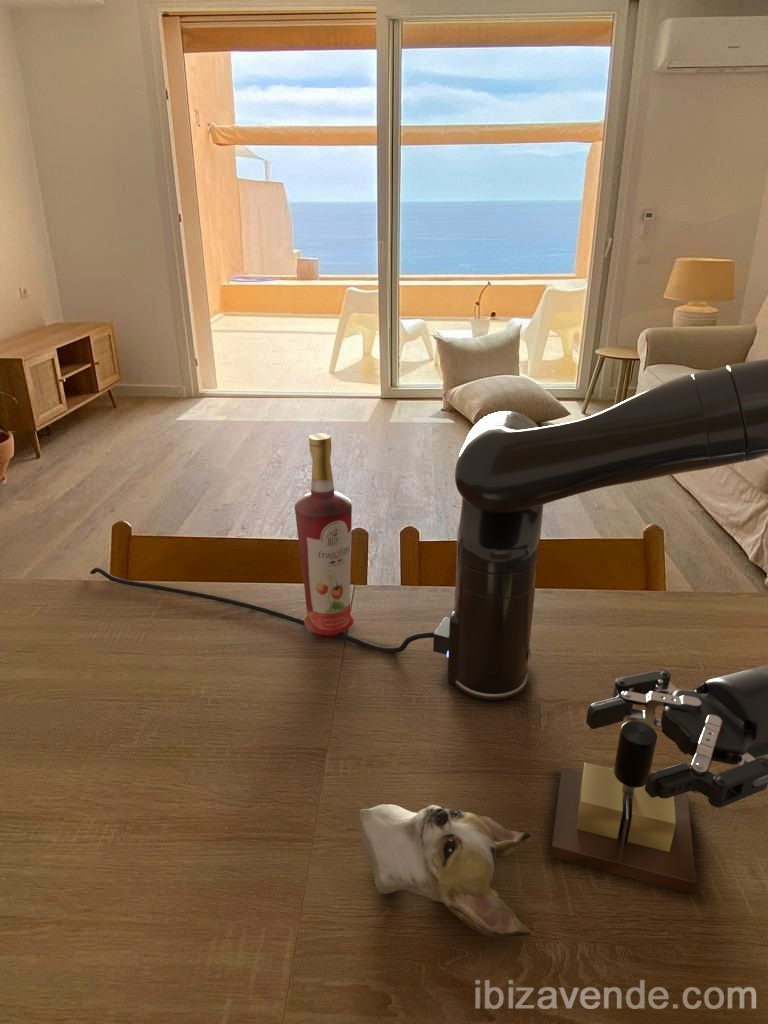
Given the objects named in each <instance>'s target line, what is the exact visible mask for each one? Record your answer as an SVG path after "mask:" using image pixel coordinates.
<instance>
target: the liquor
mask: <svg viewBox="0 0 768 1024" xmlns="http://www.w3.org/2000/svg"><path fill="white" fill-rule="evenodd" d="M308 444H309V453H310V456H311V460H312V461H311V463H312V464H311V465H312V466H311V481H310V482H311V484H310V492H308V493H306V494H304V495H303V496H302V497H300V498H299V499H298V500H296V502H295V504H294V511H295V512H294V513H295V521H296V531H297V540H298V541H297V542H298V548H299V557H300V562H301V569H302V579H303V587H304V597H305V608H306V616H305V617H304V619H303V620H304V624H305V626H304V627H305V628H306V629H307V630H308V631H310V632H311V633H313V634H315V635H317V636H320V637H322V638H336V637H335V635H337V634H340V633H343V634H344V633H345V632H347V630H349V629H350V628H351V627H352V626H353V624H354V622H355V616H354V615H353V614H352V612H351V565H352V563H351V562H352V561H351V559H352V532H353V531H352V529H353V528H352V527H353V525H352V523H353V520H352V519H353V518H352V516H353V515H352V514H353V502H352V501H351V499H350V498H348V497H347V496H345V495H344V494H343V493H341V492H339V491H335V485H334V479H333V477H334V476H333V470H332V463H331V457H332V455H331V454H332V435H331V434H329V433H326V432H315V433H312V434H310V435H309V436H308Z"/></svg>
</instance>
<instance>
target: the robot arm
mask: <svg viewBox="0 0 768 1024" xmlns="http://www.w3.org/2000/svg"><path fill="white" fill-rule="evenodd" d="M765 457H768V358H765V359H757V360H750V361H745V362H738V363H733V364H728V365H726V366H720V367H717V368H716V367H715V368H712V369H708V370H704V371H699V372H695V373H691V374H687V375H684V376H681V377H677V378H674V379H671V380H668V381H666V382H665V381H664V382H663V383H660V384H658V385H655V386H653V387H650V388H648V389H646V390H643V391H642V392H640V393H637V394H635V395H633V396H631V397H629V398H627V399H625V400H624V401H621V402H619V403H617V404H615V405H613V406H611V407H610V408H607V409H605V410H603V411H600V412H598V413H595V414H593V415H591V416H588V417H584V418H581V419H578V420H573V421H570V422H566V423H565V422H563V423H560V424H554V425H548V426H542V427H539V425H538V424H537V423H536V422H535V421H533V419H531V418H529V417H528V416H527V415H524V414H522V413H520V412H516V411H506V410H505V411H498V412H494V413H491V414H488V415H487V416H484V417H483V418H482V419H480V420H479V421H477V423H476V424H475V425H473V427H472V428H471V430H470V431H469V433H468V434H467V436H466V438H465V441H464V442H463V445H462V447H461V449H460V451H459V453H458V456H457V460H456V462H455V469H454V483H455V486H456V489H457V491H458V493H459V495H460V496H461V508H460V515H459V522H458V528H457V533H456V556H455V557H456V558H455V559H456V560H455V580H454V581H455V582H454V583H455V584H454V605H453V607H454V608H453V609H452V613H451V615H450V617H447V616H444V618H443V619H442V621H441V622H440V624H439V625H438V626H437V628H436V630H434V631H428V632H427V631H426V632H418V633H414V634H412V635H409V636H407V637H406V638H405V639H404V640H403V641H402V643H401V644H400V645H399V646H394V647H386V646H385V647H384V646H380V645H377V644H373V643H370V642H367V641H365V640H362V639H360V638H358V637H354V636H352V635H349V634H346V633H344V632H343V633H340V634H337V635H335V637H334V638H339V639H342V640H344V641H348V642H350V643H353V644H356V645H358V646H361V647H364V648H366V649H371V650H374V651H379V652H381V653H382V652H383V653H388V654H395V653H397V654H398V653H402V652H403V651H404V650H406V648H407V647H408V645H409V644H410V643H412V642H414V641H416V640H417V641H418V640H421V639H430V638H431V639H433V643H432V644H433V645H432V646H433V647H432V651H433V652H434V653H439V654H443V655H446V657H447V680H446V681H447V682H446V683H447V684H448V685H450V686H454V687H456V688H457V689H458V690H460V691H461V692H462V693H464V694H466V695H467V696H470V697H472V698H475V699H478V700H483V701H505V700H509V699H511V698H514V697H516V696H517V695H519V694H521V693H522V692H523V690H524V689H525V688H526V687H527V683H528V670H529V659H531V635H532V625H533V614H534V603H535V593H536V584H537V583H536V582H537V572H538V561H539V553H540V544H541V535H542V526H543V513H544V505H546V504H549V503H552V502H555V501H558V500H563V499H566V498H569V497H572V496H576V495H579V494H583V493H587V492H590V491H593V490H599V489H603V488H608V487H612V486H618V485H624V484H630V483H636V482H642V481H647V480H652V479H658V478H663V477H668V476H673V475H679V474H684V473H689V472H697V471H702V470H709V469H713V468H720V467H724V466H729V465H735V464H739V463H744V462H750V461H754V460H757V459H763V458H765ZM89 573H90V574H91V575H95V574H96V573H99V574H101V575H102V576H103V577H104V578H107V579H108V580H110V581H112V582H114V583H118V584H123V585H126V586H133V587H139V588H146V589H150V590H151V589H153V590H158V591H163V592H169V593H175V594H180V595H187V596H190V597H191V596H192V597H197V598H202V599H207V600H211V601H215V602H216V601H217V602H221V603H226V604H229V605H234V606H237V607H242V608H246V609H249V610H253V611H257V612H260V613H264V614H268V615H271V616H274V617H277V618H280V619H284V620H286V621H290V622H293V623H296V624H298V625H301V626H304V627H306V626H305V624H304V620H305V619H303V618H299V617H296V616H293V615H290V614H288V613H287V614H286V613H284V612H281V611H278V610H274V609H270V608H268V607H264V606H261V605H256V604H252V603H249V602H245V601H240V600H237V599H232V598H228V597H225V596H219V595H214V594H209V593H206V592H205V593H204V592H201V591H200V592H199V591H195V590H189V589H182V588H178V587H177V588H176V587H172V586H167V585H166V586H165V585H160V584H154V583H149V582H141V581H134V580H128V579H124V578H120V577H117V576H114V575H112V574H110V573H109V572H107V571H106V570H105V569H103V568H101V567H94V568H92V569H91V571H90V572H89ZM671 677H672V674H671V672H670V671H668V670H666V669H658V670H655V671H649V672H644V673H639V674H634V675H628V676H622V677H619V678H616V679H615V681H614V688H613V692H612V693H613V694H612V697H611V698H607V699H603V700H600V701H596V702H593V703H591V704H590V705H589V707H588V709H587V713H586V718H585V719H586V720H585V723H586V725H587V726H588V727H589V728H590V729H591V730H596V729H599V728H605V727H607V726H610V725H614V724H618V723H622V722H624V720H626V721H640V722H643V723H646V724H648V725H649V726H651V727H652V728H653V729H654V730H655V731H659V732H661V733H662V734H663V735H664V736H665V737H667V739H669V740H671V741H672V742H673V743H675V745H676V747H677V748H678V750H680V752H682V754H683V755H689V756H691V757H693V759H692V761H691V765H689V764H688V763H687V762H686V761H684V762H681V763H677V764H674V765H670V766H667V767H664V768H661V769H658V770H653V771H650V774H649V775H648V777H647V781H646V786H645V791H646V792H647V793H648V794H649V796H650V797H651V798H655V797H658V796H659V797H660V798H670V797H672V796H676V795H679V794H686V793H688V792H691V793H694V794H702V795H704V797H706V798H707V803H709V804H710V806H712V807H714V808H724V807H725V806H728V805H731V804H733V803H736V802H738V801H740V800H743V799H745V798H747V797H749V796H752V795H755V794H757V793H759V792H762V791H764V790H766V789H767V786H768V758H766V757H763V756H767V755H768V664H764V665H760V666H756V667H753V668H749V669H744V670H740V671H737V672H734V673H730V674H726V675H722V676H718V677H714V678H711V679H708V680H707V681H704V682H703V683H702V684H701V685H699V686H698V687H697V688H696V687H695V688H694V689H678V687H676V686H675V685H674V684H673V683H672V682H671ZM634 705H636V706H641V707H645V708H644V709H643V710H640V709H636V708H634ZM659 706H660V707H664V708H663V710H662V714H661V717H658V716H655V714H656V709H657V707H659ZM712 762H717V763H722V764H727V765H732V766H735V765H737V766H735V767H732V768H729V769H727V770H723V771H722V772H719V773H716V774H714V773H712V772H711V771H710V768H711V765H712Z"/></svg>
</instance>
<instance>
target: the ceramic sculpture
mask: <svg viewBox="0 0 768 1024" xmlns="http://www.w3.org/2000/svg"><path fill="white" fill-rule="evenodd" d="M358 819H359V825H360V836H361V844H362V852H363V854H364V856H365V857H366V860H367V862H368V863H369V865H370V867H371V870H372V873H373V878H374V884H375V887H376V890H377V892H378V893H380V894H381V895H388V894H392V893H395V892H397V891H401V890H402V891H409V892H411V893H413V894H416V895H419V896H423V897H426V898H429V899H431V900H433V901H435V902H439V903H443V904H444V906H445V907H446V908H447V909H448V910H449V911H450V912H451V913H452V914H453V915H454V916H455V917H456V918H458V919H459V920H460V921H461V922H463V923H464V924H465V925H466V926H467V927H469V928H470V929H472V930H474V931H476V932H477V933H480V934H482V935H485V936H488V937H489V936H490V937H496V938H515V937H524V936H525V937H526V936H529V935H531V934H532V931H531V930H530V929H529V928H528V927H527V926H526V925H524V923H522V922H521V921H520V919H519V918H518V916H517V915H516V914H515V912H514V911H513V910H512V908H511V906H510V904H509V903H508V901H507V900H506V898H504V897H503V896H502V895H501V894H500V893H499V892H498V891H496V890H495V889H493V888H491V887H490V885H491V882H492V880H493V878H494V874H495V871H496V859H502V858H507V857H508V856H509V855H511V854H512V853H514V852H515V851H516V850H517V849H518V848H520V847H521V846H522V845H524V844H525V843H527V842H528V841H530V840H531V839H532V837H533V833H532V832H527V831H523V830H520V831H517V830H514V829H511V828H509V827H507V826H506V825H504V824H502V823H500V822H496V821H495V820H494V819H492V818H490V817H488V816H486V815H479V814H476V813H473V812H468V811H466V812H465V811H463V810H460V809H456V808H442V807H441V806H439V805H437V804H430V805H428V806H427V807H426V808H422V809H420V810H419V811H418V812H414V811H411V810H407V809H406V808H403V807H401V806H399V805H396V804H390V803H389V804H385V803H383V804H379V805H376V806H373V807H371V808H362V809H360V811H359V817H358Z"/></svg>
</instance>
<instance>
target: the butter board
mask: <svg viewBox="0 0 768 1024" xmlns="http://www.w3.org/2000/svg"><path fill="white" fill-rule="evenodd" d="M645 786H646V785H644V786H643V787H638V788H635V789H634V793H633V795H630V796H629V821H628V826H627V831H626V836H625V842H624V847H621V825H622V813H623V791H622V788H623V784H622V783H621V782H620V781H619V780H618V779H617V778H616V777H615V775H614V768H610V767H606V766H601V765H597V764H594V763H593V764H592V763H588V762H584V763H583V769H582V770H578V769H573V768H569V767H565V766H561V772H560V777H559V786H558V794H557V801H556V809H555V817H554V826H553V834H552V841H551V842H552V843H551V850H550V858H551V859H555V860H559V861H562V862H566V863H571V864H574V865H578V866H581V867H585V868H590V869H593V870H597V871H601V872H604V873H609V874H613V875H617V876H621V877H623V878H628V879H631V880H636V881H640V882H644V883H647V884H652V885H654V886H655V885H656V886H659V887H662V888H666V889H670V890H675V891H679V892H681V893H682V892H683V893H685V894H690V895H694V891H695V889H696V888H695V887H696V885H697V881H696V880H697V879H696V870H695V868H696V867H695V858H694V848H693V847H694V846H693V837H692V825H691V815H690V804H689V802H690V801H689V795H688V794H686V793H683V794H679V795H676V796H672V797H670V798H660V797H659V796H658V797H655V798H651V797H650V796H649V794H648V793H647V792H646V791H645Z"/></svg>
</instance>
